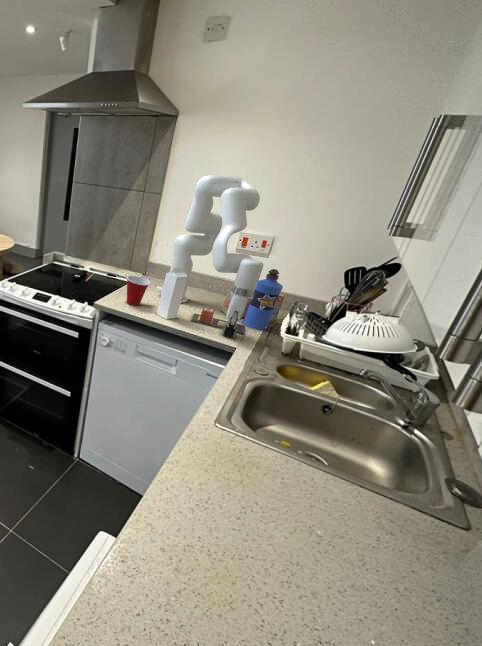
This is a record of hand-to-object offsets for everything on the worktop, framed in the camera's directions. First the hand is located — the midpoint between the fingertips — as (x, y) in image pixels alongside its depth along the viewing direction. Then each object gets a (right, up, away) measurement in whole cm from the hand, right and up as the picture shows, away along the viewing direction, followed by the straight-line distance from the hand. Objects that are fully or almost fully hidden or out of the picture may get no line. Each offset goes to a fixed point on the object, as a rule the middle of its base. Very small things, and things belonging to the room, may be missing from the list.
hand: (228, 333), depth 156 cm
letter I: (0, 0, 0) cm, 0 cm away
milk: (-19, +7, +14) cm, 25 cm away
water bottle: (+18, +3, +12) cm, 22 cm away
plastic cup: (-30, +13, +26) cm, 42 cm away
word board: (+1, +4, +10) cm, 11 cm away
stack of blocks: (+21, +7, +22) cm, 31 cm away
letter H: (-3, +6, +12) cm, 14 cm away
